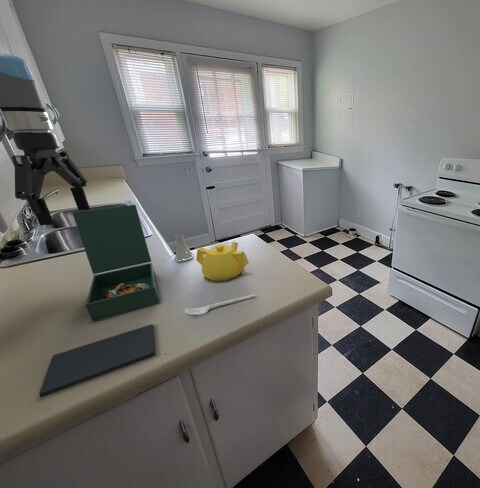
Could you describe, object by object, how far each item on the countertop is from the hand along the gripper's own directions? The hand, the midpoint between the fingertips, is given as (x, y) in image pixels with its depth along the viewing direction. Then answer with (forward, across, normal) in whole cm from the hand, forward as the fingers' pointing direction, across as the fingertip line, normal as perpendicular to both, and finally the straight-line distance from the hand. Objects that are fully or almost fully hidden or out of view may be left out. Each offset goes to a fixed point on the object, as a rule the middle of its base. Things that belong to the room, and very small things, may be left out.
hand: (67, 216), depth 73 cm
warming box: (+27, +2, -7) cm, 28 cm away
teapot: (+28, +15, -35) cm, 47 cm away
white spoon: (+28, -8, -38) cm, 48 cm away
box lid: (+11, +11, -2) cm, 16 cm away
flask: (+28, +28, -16) cm, 42 cm away
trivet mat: (+28, -25, -15) cm, 40 cm away
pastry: (+27, +2, -7) cm, 28 cm away
